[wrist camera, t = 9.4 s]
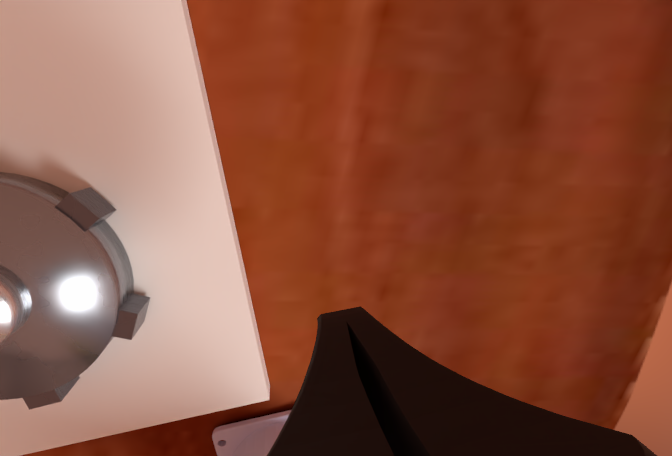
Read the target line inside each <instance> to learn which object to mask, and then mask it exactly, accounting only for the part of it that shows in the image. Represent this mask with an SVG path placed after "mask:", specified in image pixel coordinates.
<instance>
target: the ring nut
mask: <svg viewBox="0 0 672 456" xmlns="http://www.w3.org/2000/svg"><path fill="white" fill-rule="evenodd" d="M115 211H116V209H115V208H114V207H113V206H112V205H111V204H109V203H108V202H107V201H106V200H105V199H104V198H103V197H101V196H100V195H99V194H98V193H97V192H96V191H94V190H93V189H92V188H91V187H89V188H86V189H82V190H79V191H76V192H72V193H69V192H67V191H65V190H63V189H61V188H59V187H57V186H54V185H52V184H50V183H47V182H44V181H41V180H38V179H35V178H32V177H28V176H23V175H19V174H13V173H5V172H0V400H8V399H18V398H23V400H24V401H25V403H26V405H27V407H28V408H29V410H30V409H34V408H38V407H42V406H46V405H50V404H54V403H58V402H61V401H62V400H63V399H64V397H65V396H66V395H67V394H68V392H69V391H70V390H71V389H72V387H73V386H74V385H75V384H76V382H77V381H78V380H79V379H80V377H79V375H80V374H81V373H83V372H84V371H85V370H87V369H88V368H89V367H90V366H91V365H92V364H93V363H94V362H95V361H96V359H97V358H98V357H99V356H100V354H101V353H102V352H103V351H104V349H105V348H106V347H107V345H108V344H109V343H110V342H111V340H112V339H113V338H114V337H118V338H123V339H128V340H132V338H133V337H134V336H135V334H136V333H137V331H138V330H139V328H140V327H141V326H142V324H143V323H144V321H145V317H146V313H147V309H148V305H149V301H150V297H146V296H142V295H137V294H134V278H133V272H132V267H131V264H130V260H129V257H128V255H127V252H126V250H125V248H124V246H123V244H122V242H121V241H120V239H119V238H118V236H117V235H116V233H115V231H114V230H113V229H112V228H111V227H110V226H109V224H108V223H107V222H106V221H105V220H106V219H107V218H108V217H109V216H111V215H112V214H113V213H114V212H115Z"/></svg>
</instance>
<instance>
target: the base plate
mask: <svg viewBox="0 0 672 456" xmlns="http://www.w3.org/2000/svg"><path fill="white" fill-rule="evenodd" d="M0 172H5V173H13V174H19V175H23V176H28V177H32V178H35V179H38V180H41V181H44V182H47V183H50V184H52V185H54V186H57V187H59V188H61V189H63V190H65V191H67V192H69V193H72V192H76V191H79V190H82V189H86V188H89V187H91V188H92V189H93V190H94V191H96V192H97V193H98V194H99V195H100V196H101V197H103V198H104V199H105V200H106V201H107V202H108V203H109V204H111V205H112V206H113V207H114V208H115V209H116V211H115V212H114V213H113V214H112V215H111V216H109V217H108V218H107V219H106V220H105V221H106V222H107V223H108V224H109V226H110V227H111V228H112V229H113V230H114V231H115V233H116V235H117V236H118V238H119V239H120V241H121V242H122V244H123V246H124V248H125V250H126V252H127V255H128V257H129V260H130V264H131V267H132V272H133V278H134V294H137V295H142V296H146V297H150V301H149V305H148V309H147V313H146V317H145V321H144V323H143V324H142V326H141V327H140V328H139V330H138V331H137V333H136V334H135V336H134V337H133V338H132V340H128V339H123V338H118V337H114V338H113V339H112V340H111V342H110V343H109V344H108V345H107V347H106V348H105V349H104V351H103V352H102V353H101V354H100V356H99V357H98V358H97V359H96V361H95V362H94V363H93V364H92V365H91V366H90V367H89V368H88V369H87V370H85V371H84V372H83V373H81V374H80V375H79V377H80V379H79V380H78V381H77V382H76V384H75V385H74V386H73V387H72V389H71V390H70V391H69V392H68V394H67V395H66V396H65V397H64V399H63V400H62V401H61V402H58V403H54V404H50V405H46V406H42V407H38V408H34V409H30V410H29V408H28V407H27V405H26V403H25V401H24V400H23V398H18V399H8V400H0V456H20V455H25V454H29V453H34V452H38V451H43V450H47V449H52V448H56V447H60V446H65V445H69V444H74V443H78V442H83V441H87V440H92V439H96V438H101V437H105V436H110V435H114V434H119V433H123V432H128V431H132V430H137V429H141V428H146V427H150V426H155V425H159V424H164V423H168V422H173V421H177V420H182V419H186V418H191V417H195V416H200V415H204V414H209V413H213V412H218V411H222V410H227V409H231V408H235V407H240V406H244V405H249V404H253V403H258V402H262V401H267V400H269V396H270V384H269V379H268V375H267V370H266V366H265V361H264V356H263V352H262V347H261V342H260V338H259V333H258V329H257V324H256V319H255V315H254V310H253V306H252V301H251V296H250V292H249V287H248V283H247V278H246V273H245V269H244V264H243V260H242V255H241V250H240V246H239V241H238V237H237V232H236V227H235V223H234V218H233V214H232V209H231V204H230V200H229V195H228V191H227V186H226V181H225V177H224V172H223V167H222V163H221V158H220V154H219V149H218V144H217V140H216V135H215V131H214V126H213V121H212V117H211V112H210V108H209V103H208V98H207V94H206V89H205V85H204V80H203V75H202V71H201V66H200V62H199V57H198V52H197V48H196V43H195V39H194V34H193V29H192V25H191V20H190V16H189V11H188V6H187V2H186V0H0Z"/></svg>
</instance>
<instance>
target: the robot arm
mask: <svg viewBox="0 0 672 456" xmlns="http://www.w3.org/2000/svg"><path fill="white" fill-rule="evenodd" d="M317 320H318V330H317V337H316V342H315V346H314V350H313V354H312V358H311V361H310V365H309V367H308V370H307V373H306V376H305V379H304V382H303V385H302V387H301V390H300V392H299V394H298V397H297V399H296V401H295V404H294V406H293V408H292V410H288V411H284V412H280V413H275V414H271V415H266V416H262V417H258V418H253V419H249V420H245V421H240V422H236V423H231V424H227V425H223V426H219V427H216V428H215V429H214V431H213V434H212V440H213V443H214V447H215V450H216V453H217V456H657V455H655V454H654V453H653V452H652V451H651V450H649V449H648V448H647V447H646V446H645V445H644V444H642V443H641V442H639V440H637V439H636V438H635V437H633V436H632V435H629V434H626V433H622V432H619V431H615V430H612V429H608V428H604V427H601V426H597V425H594V424H590V423H587V422H583V421H580V420H576V419H572V418H569V417H565V416H562V415H559V414H556V413H553V412H550V411H547V410H545V409H542V408H539V407H536V406H533V405H530V404H527V403H524V402H522V401H519V400H517V399H514V398H511V397H509V396H506V395H504V394H501V393H499V392H497V391H494V390H492V389H490V388H487V387H485V386H483V385H480V384H478V383H476V382H474V381H472V380H470V379H467V378H465V377H463V376H461V375H459V374H457V373H456V372H454V371H452V370H450V369H448V368H446V367H444V366H442V365H441V364H439V363H437V362H435V361H434V360H432V359H430V358H428V357H427V356H425V355H424V354H422V353H421V352H419V351H418V350H416V349H414V348H413V347H411V346H410V345H409V344H407V343H406V342H404V341H403V340H402V339H400V338H399V337H398V336H396V335H395V334H394V333H392V332H391V331H390V330H388V329H387V328H386V327H385V326H383V325H382V324H381V323H380V322H379V321H377V320H376V319H375V318H374V317H373V316H371V315H370V314H369V313H368V312H367V311H366V310H364V309H363V308H362V307H356V308H351V309H346V310H341V311H336V312H330V313H325V314H321V315H320V316H319V317H318V318H317ZM220 440H225V441H220Z"/></svg>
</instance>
